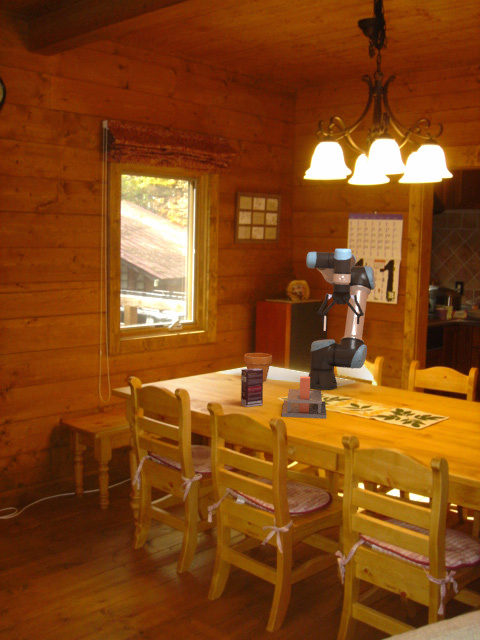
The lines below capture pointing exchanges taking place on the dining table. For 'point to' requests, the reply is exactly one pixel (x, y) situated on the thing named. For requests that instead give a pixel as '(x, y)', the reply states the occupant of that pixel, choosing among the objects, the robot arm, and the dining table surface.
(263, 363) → the flower pot
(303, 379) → the pink rectangular block
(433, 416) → the dining table surface
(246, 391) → the supplement box
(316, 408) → the grey stand
